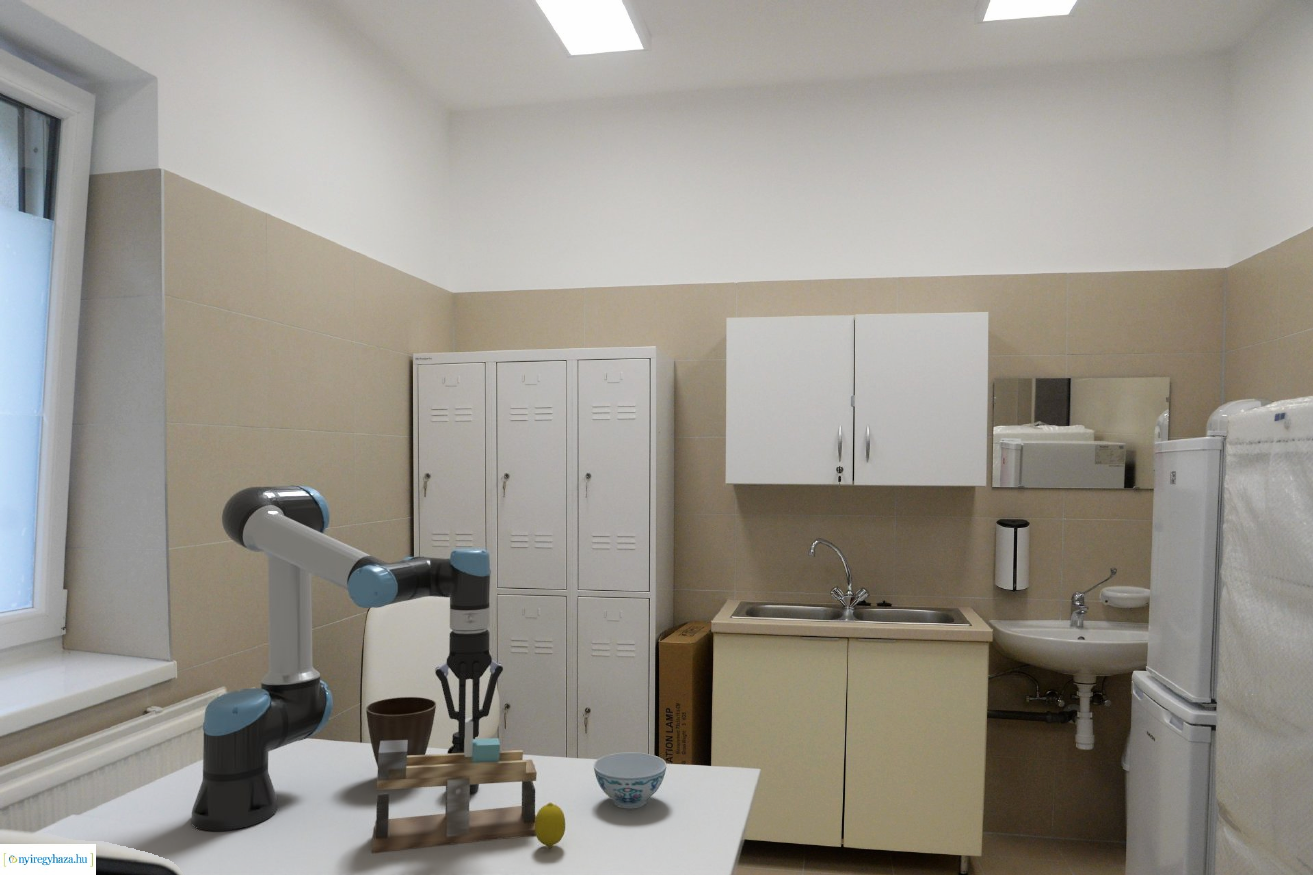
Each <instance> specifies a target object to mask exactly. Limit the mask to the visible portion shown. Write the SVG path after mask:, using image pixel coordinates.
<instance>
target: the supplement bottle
mask: <svg viewBox="0 0 1313 875" xmlns="http://www.w3.org/2000/svg"><path fill="white" fill-rule="evenodd" d="M473 739H476V737H473ZM451 744H452V745H451V746H450V747H449V748H448V750H447V753H446V754H452V753H464V738H459V735H458V731H456V732H453V734H452V740H451ZM479 787H480V784H472V785H470V794H469V796H470V795H473V794H475V793H477V792H478V790H479Z"/></svg>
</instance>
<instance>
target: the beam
mask: <svg viewBox="0 0 1313 875" xmlns="http://www.w3.org/2000/svg"><path fill="white" fill-rule="evenodd" d="M407 744H408V740H391V741H380V747H379V754H378V767H377V774H376V775H377V776H376V778H377V779H376V791H381V790H382V791H383V790H401V789H417V788H420V789H421V788H433V787H434V788H435V787H446V786H447V780H454V779H466V778H469V779H470V785H472V784H479V785H486V784H502V783H503V784H504V783H522V782H524V781H533V782H536V781H537V772H538V771H537V769H536V766H535V764H534V761H533V759H523V758H524V757H523V756H524V755H523V754H524V751H523V749H519V750H500V755H499V761H498V762H478V763H471V757H465V755H464V753H452V754H447V753H436V754H435V753H433V754H425V755H410V756H407Z"/></svg>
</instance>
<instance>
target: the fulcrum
mask: <svg viewBox="0 0 1313 875" xmlns="http://www.w3.org/2000/svg"><path fill="white" fill-rule="evenodd" d="M469 794H470V779H469V778H466V779H454V780H447V786H445V808H444V809H445V813H439V814H426V815H418V816H407V817H405V816H404V817H396V818H390V817H389V815H390V813H389V812H390V808H389V807H390V793H386V792H385V793H378V794H377V798H376V818H375V819H376V820H375V824H374V829H373V837H372V845H371V853H373V854H374V853H381V852H382V853H384V852H391V851H400V850H401V851H402V850H410V849H419V848H430V847H437V846H438V847H439V846H447V845H448V846H449V845H455V844H456V845H458V844H465V843H474V842H476V843H477V842H483V841H493V840H502V839H510V838H512V839H513V838H521V837H529V836H530V837H531V836H536V833H535V819H536V816H537V814H536V787H535V785H534V781H524V782H521V805H519V806H518V805H517V806H508V807H506V806H505V807H497V808H488V809H477V810H476V809H475V810H470V795H469Z"/></svg>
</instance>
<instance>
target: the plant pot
mask: <svg viewBox="0 0 1313 875" xmlns="http://www.w3.org/2000/svg"><path fill="white" fill-rule="evenodd" d="M436 709H437V702H436V701H434V700H433V699H431V698H426V697H418V696H405V697H403V696H399V697H390V698H385V699H381V700H377V701H374V702H371V703H370V704H368V705H367V706H366V708H365V712H366V720H367V728H368V734H369V739H370V744H371V749H372V751H373V756H374V760H375V763H376V767H377V768H378V754H379V747H380V741H391V740H408V744H407V756H410V755H427V754H426V753H427V749H428V746H429V742H430V739H431V734H432V730H433V726H434V721H435V715H436Z"/></svg>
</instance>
